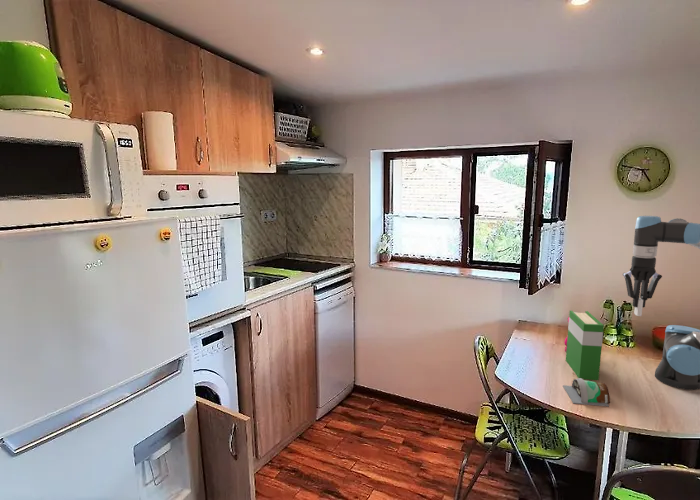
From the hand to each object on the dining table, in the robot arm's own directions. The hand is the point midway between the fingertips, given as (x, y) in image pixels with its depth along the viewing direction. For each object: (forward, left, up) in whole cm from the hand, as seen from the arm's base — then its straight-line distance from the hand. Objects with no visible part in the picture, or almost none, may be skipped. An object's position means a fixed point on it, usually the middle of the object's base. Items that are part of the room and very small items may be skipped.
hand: (637, 314), depth 161 cm
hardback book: (+15, -10, -30) cm, 35 cm away
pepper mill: (+13, -29, -30) cm, 44 cm away
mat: (+21, +13, -29) cm, 38 cm away
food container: (+14, +13, -26) cm, 32 cm away
